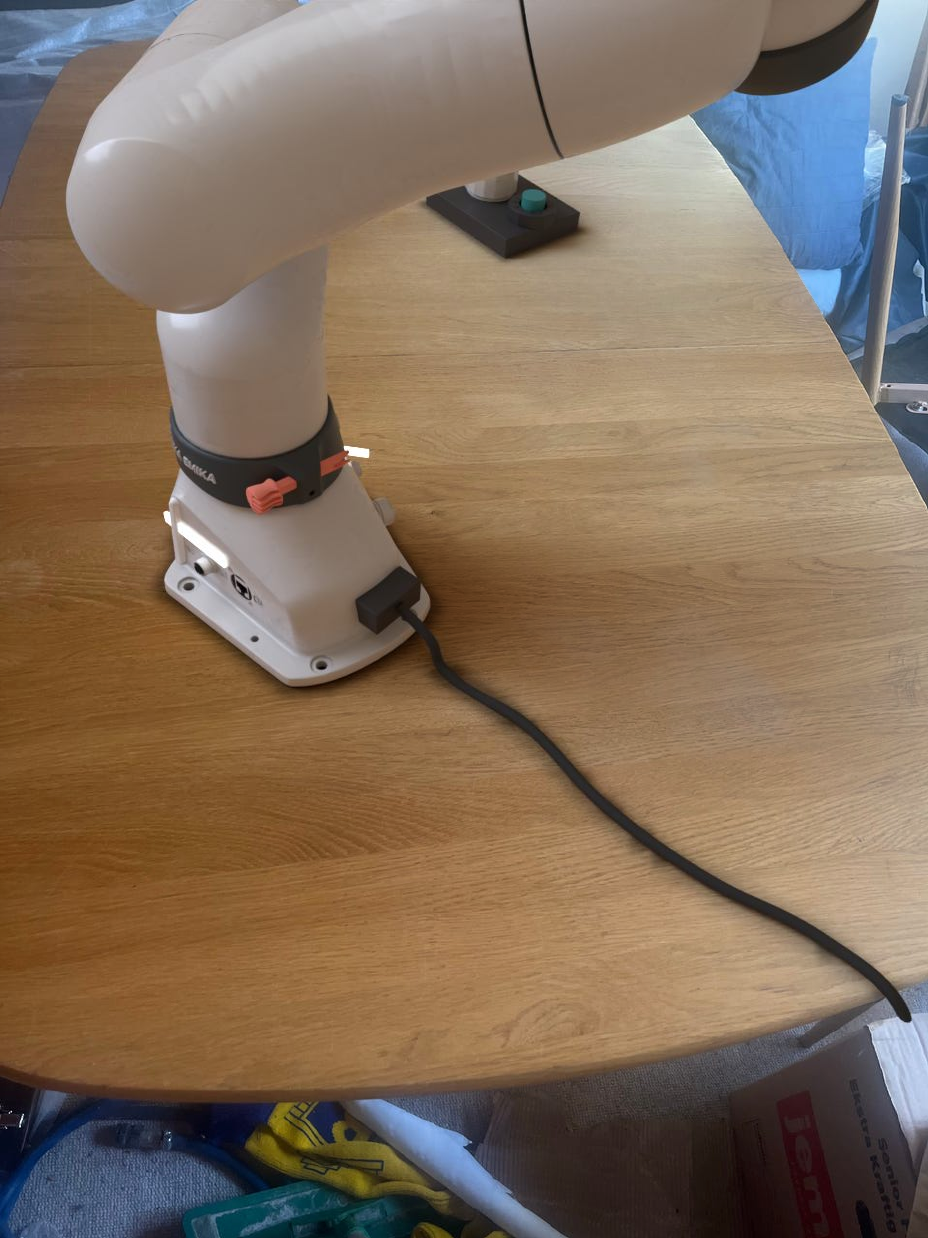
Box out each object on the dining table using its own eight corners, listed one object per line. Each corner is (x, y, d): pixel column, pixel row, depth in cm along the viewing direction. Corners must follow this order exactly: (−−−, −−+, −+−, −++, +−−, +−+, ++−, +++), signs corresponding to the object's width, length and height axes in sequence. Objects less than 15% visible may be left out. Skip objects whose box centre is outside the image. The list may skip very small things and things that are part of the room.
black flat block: (580, 232, 118) (586, 200, 115) (507, 260, 113) (511, 228, 110) (498, 180, 125) (501, 149, 122) (425, 204, 120) (426, 172, 117)
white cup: (526, 194, 118) (531, 153, 114) (487, 207, 115) (491, 166, 112) (493, 172, 121) (496, 132, 117) (454, 185, 118) (456, 144, 114)
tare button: (549, 209, 114) (551, 196, 113) (531, 215, 113) (533, 202, 111) (533, 199, 115) (535, 186, 114) (516, 205, 114) (517, 192, 113)
